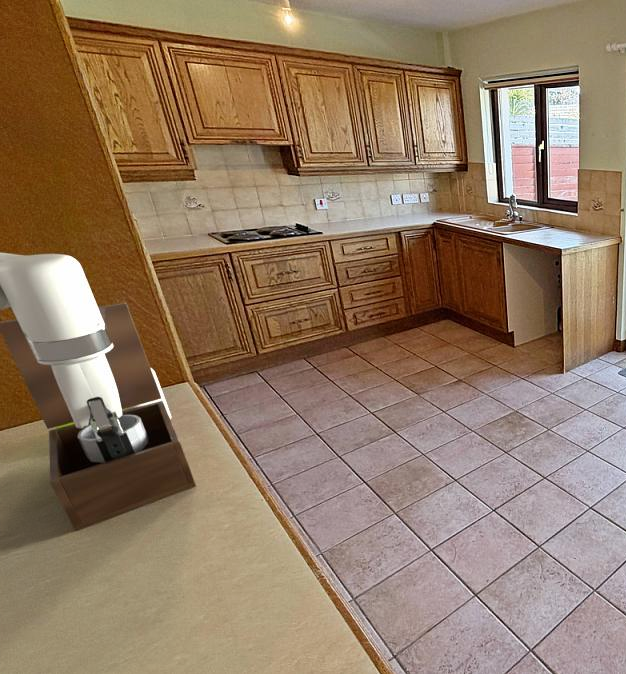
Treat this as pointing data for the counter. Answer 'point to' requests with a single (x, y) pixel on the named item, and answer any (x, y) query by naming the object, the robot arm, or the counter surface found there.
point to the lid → (122, 359)
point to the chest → (118, 471)
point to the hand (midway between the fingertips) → (118, 447)
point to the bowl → (129, 425)
